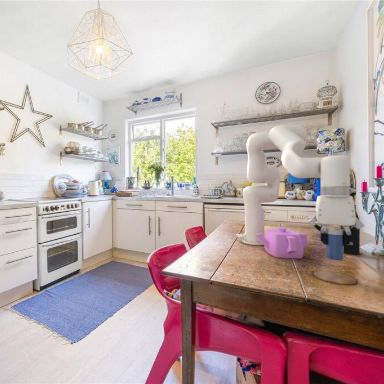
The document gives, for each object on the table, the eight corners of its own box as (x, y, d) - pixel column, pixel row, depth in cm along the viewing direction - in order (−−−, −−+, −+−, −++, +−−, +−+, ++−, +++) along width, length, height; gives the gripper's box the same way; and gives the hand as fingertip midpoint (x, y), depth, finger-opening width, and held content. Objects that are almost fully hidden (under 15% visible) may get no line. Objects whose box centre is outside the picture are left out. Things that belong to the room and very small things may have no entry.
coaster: (315, 280, 79) (315, 279, 79) (311, 269, 89) (311, 268, 89) (360, 287, 73) (360, 286, 73) (351, 275, 83) (351, 274, 83)
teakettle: (295, 262, 97) (296, 232, 97) (254, 252, 111) (254, 227, 111) (311, 254, 107) (311, 227, 106) (271, 246, 121) (271, 223, 120)
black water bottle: (351, 250, 111) (351, 187, 110) (363, 254, 105) (364, 187, 104) (336, 250, 112) (337, 187, 111) (348, 254, 106) (348, 188, 104)
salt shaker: (326, 258, 80) (327, 229, 80) (324, 255, 84) (324, 227, 84) (344, 261, 77) (345, 231, 77) (341, 257, 81) (341, 228, 81)
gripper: (365, 191, 79) (365, 245, 79) (302, 191, 88) (302, 240, 88) (373, 192, 72) (372, 250, 73) (304, 192, 81) (304, 244, 82)
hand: (334, 244), depth 81 cm, fingers closed on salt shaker, 4 cm apart
